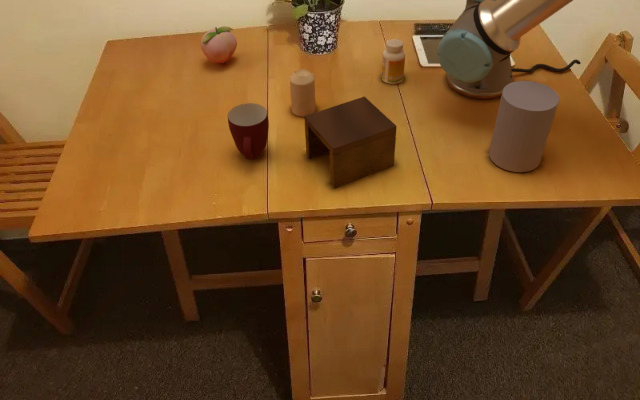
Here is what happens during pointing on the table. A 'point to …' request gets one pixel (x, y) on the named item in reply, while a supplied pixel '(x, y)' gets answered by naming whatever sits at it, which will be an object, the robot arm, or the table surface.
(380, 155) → the shelf
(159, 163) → the table surface
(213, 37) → the decorative fruit
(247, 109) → the mug
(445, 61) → the robot arm
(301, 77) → the candle
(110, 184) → the table surface
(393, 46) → the supplement bottle
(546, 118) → the container
